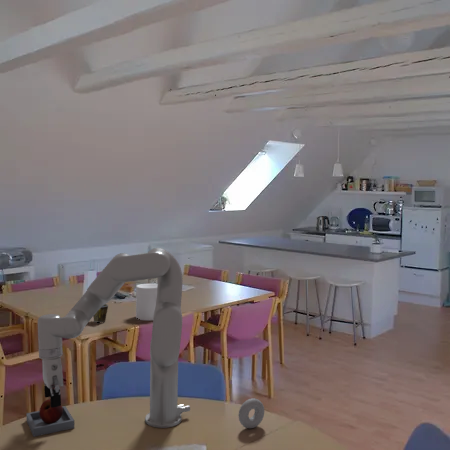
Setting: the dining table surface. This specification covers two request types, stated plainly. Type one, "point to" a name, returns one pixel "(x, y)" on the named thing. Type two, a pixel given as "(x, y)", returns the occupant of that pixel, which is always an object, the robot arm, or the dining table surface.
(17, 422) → the dining table surface
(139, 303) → the canister
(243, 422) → the donut
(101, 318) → the ceramic cup
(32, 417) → the tray
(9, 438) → the dining table surface
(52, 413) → the apple
